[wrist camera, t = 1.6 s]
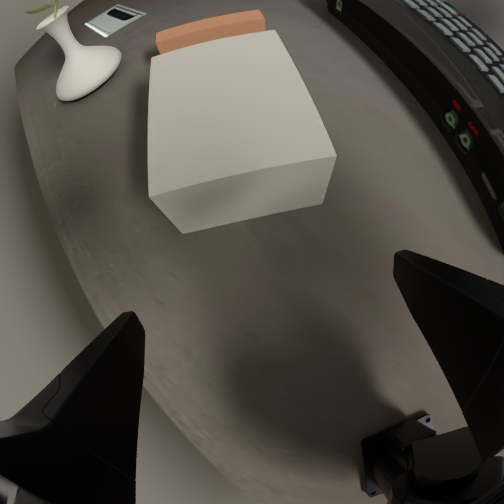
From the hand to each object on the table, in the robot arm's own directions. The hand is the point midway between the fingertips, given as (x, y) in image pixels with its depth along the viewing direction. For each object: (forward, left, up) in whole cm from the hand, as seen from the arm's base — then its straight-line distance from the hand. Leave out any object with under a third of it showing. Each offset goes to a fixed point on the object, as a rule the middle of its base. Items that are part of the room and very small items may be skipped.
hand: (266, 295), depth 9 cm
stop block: (+33, 0, -13) cm, 35 cm away
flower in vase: (+37, +18, -13) cm, 43 cm away
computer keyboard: (+22, -36, -14) cm, 44 cm away
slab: (+16, 0, -13) cm, 21 cm away
